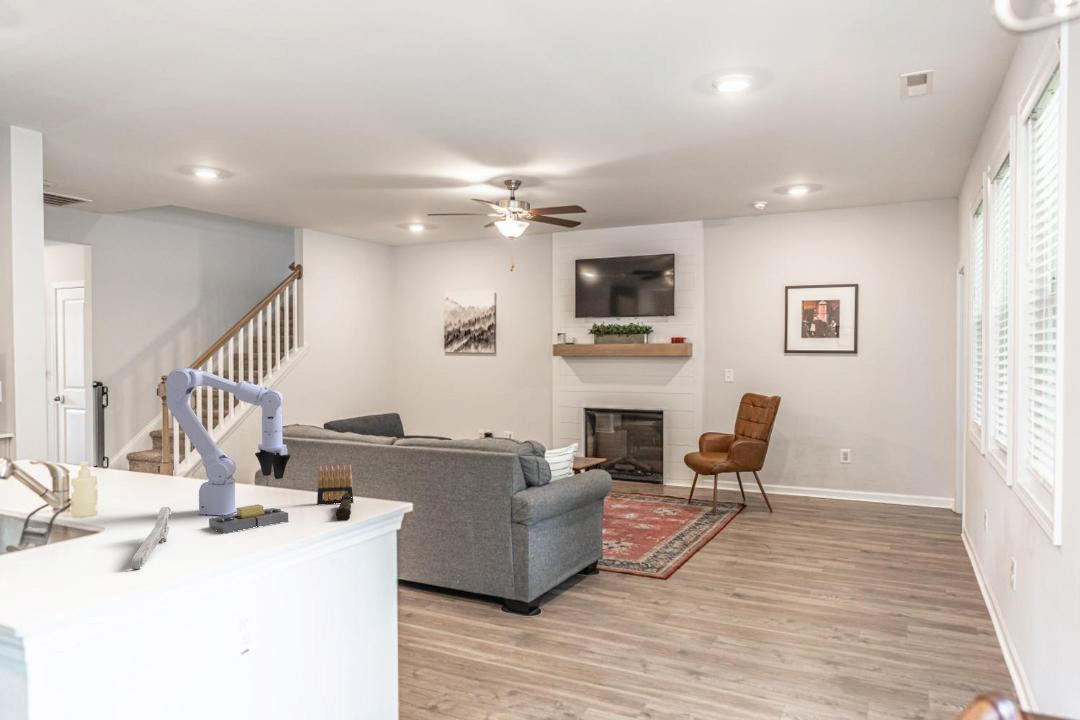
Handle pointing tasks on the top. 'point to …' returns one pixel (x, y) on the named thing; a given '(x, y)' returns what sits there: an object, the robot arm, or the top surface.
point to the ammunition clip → (334, 485)
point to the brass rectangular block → (249, 511)
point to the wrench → (152, 539)
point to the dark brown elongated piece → (344, 508)
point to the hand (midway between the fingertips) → (272, 477)
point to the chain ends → (247, 521)
